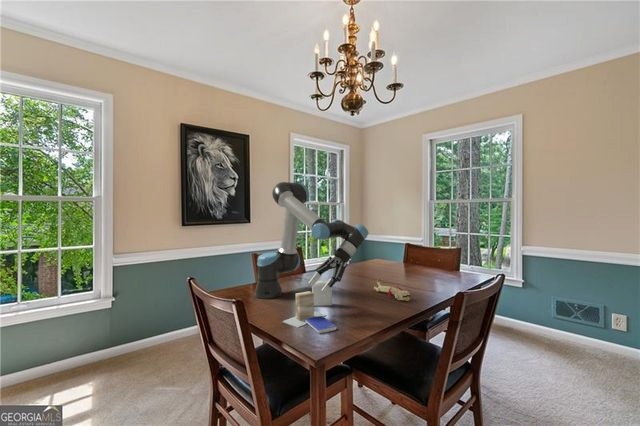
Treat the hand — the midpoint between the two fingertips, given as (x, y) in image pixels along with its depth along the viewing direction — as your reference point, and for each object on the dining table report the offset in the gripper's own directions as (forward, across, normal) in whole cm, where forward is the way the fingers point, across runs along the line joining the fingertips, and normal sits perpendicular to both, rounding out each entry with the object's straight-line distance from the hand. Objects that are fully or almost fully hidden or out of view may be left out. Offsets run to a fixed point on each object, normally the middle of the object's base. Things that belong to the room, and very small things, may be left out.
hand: (316, 288), depth 136 cm
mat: (+13, 0, -5) cm, 14 cm away
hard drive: (+12, -10, -7) cm, 17 cm away
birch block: (+13, 0, -5) cm, 14 cm away
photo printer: (+3, +14, -16) cm, 21 cm away
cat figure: (-26, +8, -45) cm, 53 cm away
